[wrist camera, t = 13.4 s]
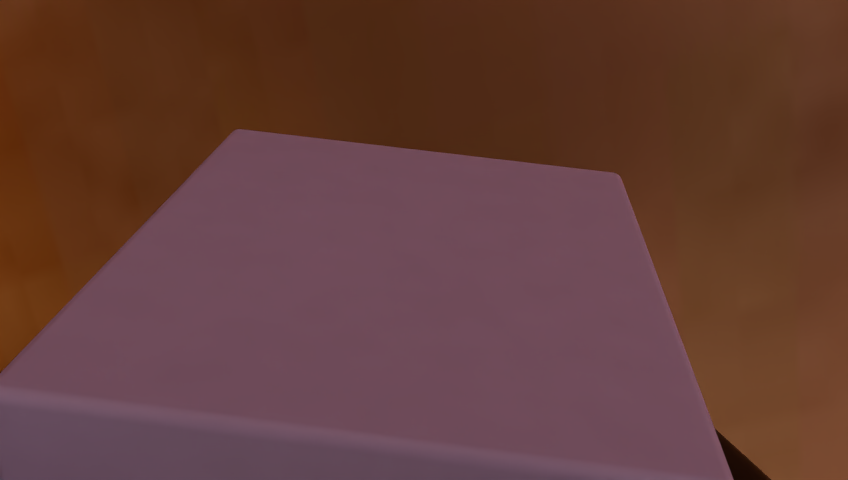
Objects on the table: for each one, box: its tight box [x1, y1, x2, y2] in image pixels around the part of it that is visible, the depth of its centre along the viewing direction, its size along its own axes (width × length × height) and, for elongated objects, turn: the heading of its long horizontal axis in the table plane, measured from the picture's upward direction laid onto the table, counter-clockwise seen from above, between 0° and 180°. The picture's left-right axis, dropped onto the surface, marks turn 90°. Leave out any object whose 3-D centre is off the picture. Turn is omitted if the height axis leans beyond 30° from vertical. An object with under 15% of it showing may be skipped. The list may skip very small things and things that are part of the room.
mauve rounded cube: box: [0, 129, 734, 480], centre depth 7 cm, size 4×4×5 cm
